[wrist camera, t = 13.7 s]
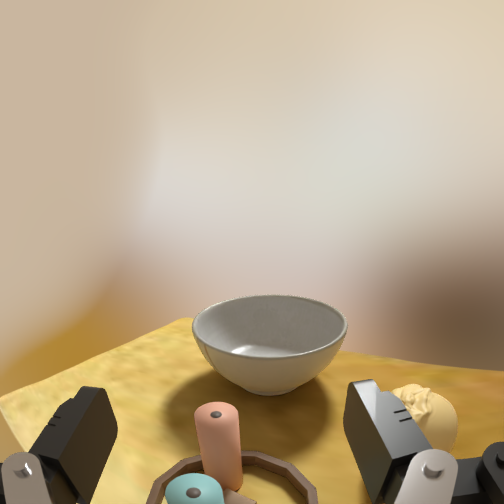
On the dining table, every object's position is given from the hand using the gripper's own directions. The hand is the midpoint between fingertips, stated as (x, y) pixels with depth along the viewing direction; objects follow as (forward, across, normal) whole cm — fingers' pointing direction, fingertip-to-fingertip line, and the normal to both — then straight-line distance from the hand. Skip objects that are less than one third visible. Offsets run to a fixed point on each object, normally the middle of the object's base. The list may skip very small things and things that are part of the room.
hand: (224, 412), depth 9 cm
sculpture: (+18, -21, +28) cm, 40 cm away
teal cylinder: (+7, +4, +28) cm, 29 cm away
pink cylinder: (+18, +3, +28) cm, 33 cm away
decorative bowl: (+43, -5, +29) cm, 52 cm away
